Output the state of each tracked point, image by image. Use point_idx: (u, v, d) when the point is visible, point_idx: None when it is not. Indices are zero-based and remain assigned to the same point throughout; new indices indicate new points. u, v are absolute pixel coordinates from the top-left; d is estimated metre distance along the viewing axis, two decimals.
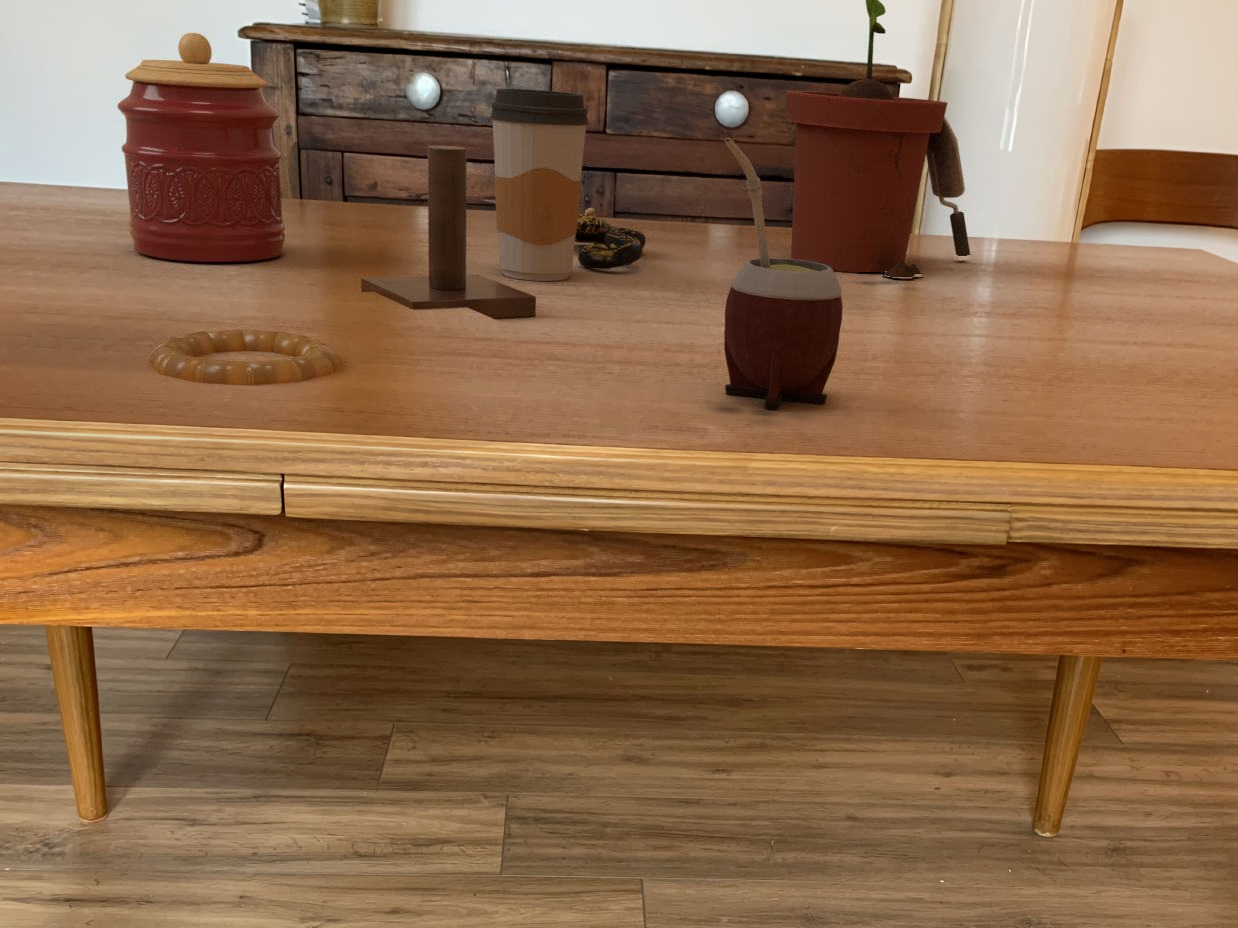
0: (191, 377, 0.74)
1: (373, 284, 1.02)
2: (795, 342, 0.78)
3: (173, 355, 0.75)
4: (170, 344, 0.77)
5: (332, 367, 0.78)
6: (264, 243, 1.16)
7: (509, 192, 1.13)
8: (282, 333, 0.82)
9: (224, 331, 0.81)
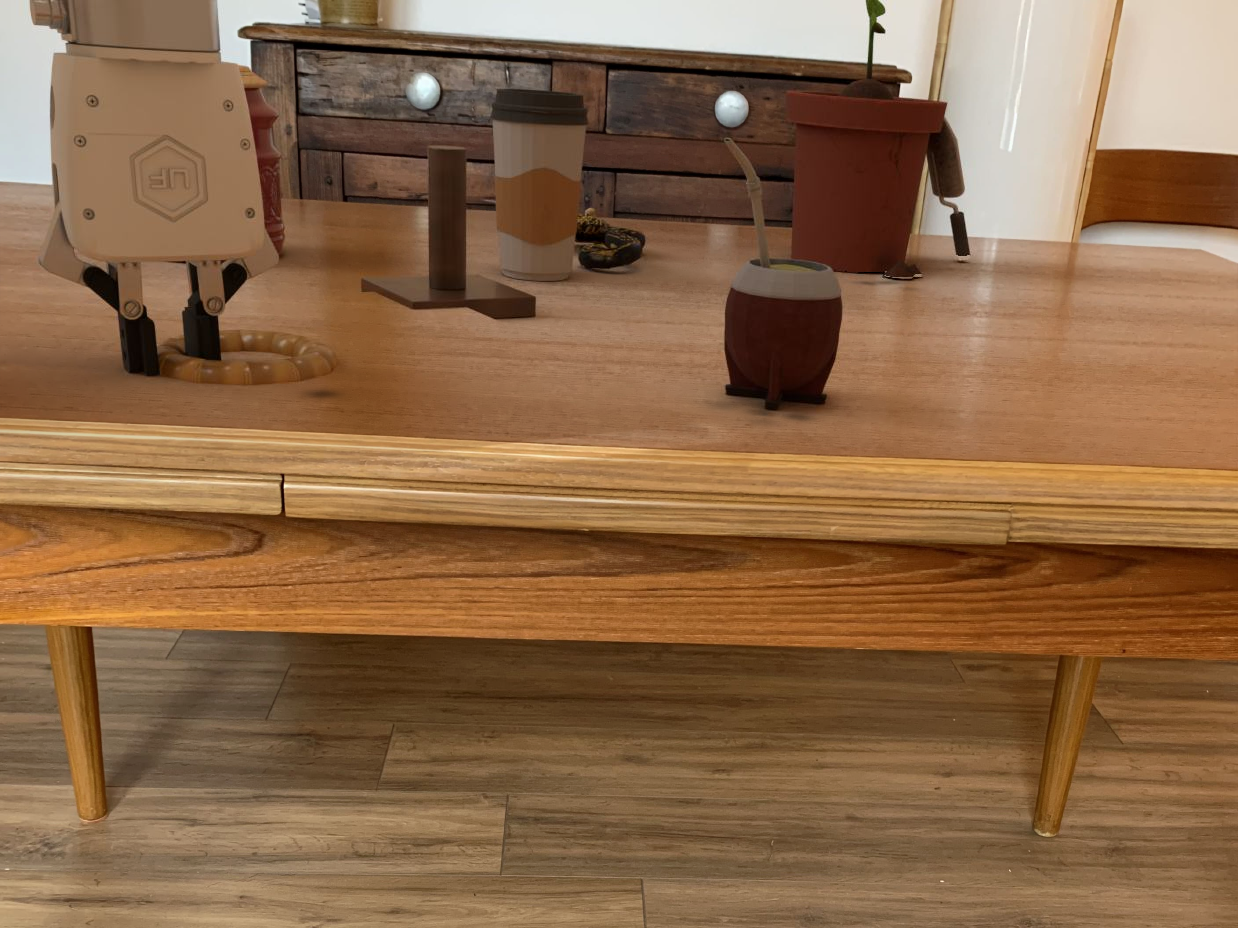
0: (188, 377, 0.74)
1: (373, 284, 1.02)
2: (795, 342, 0.78)
3: (170, 355, 0.75)
4: (167, 344, 0.77)
5: (330, 367, 0.78)
6: None
7: (509, 192, 1.13)
8: (280, 333, 0.82)
9: (222, 331, 0.81)
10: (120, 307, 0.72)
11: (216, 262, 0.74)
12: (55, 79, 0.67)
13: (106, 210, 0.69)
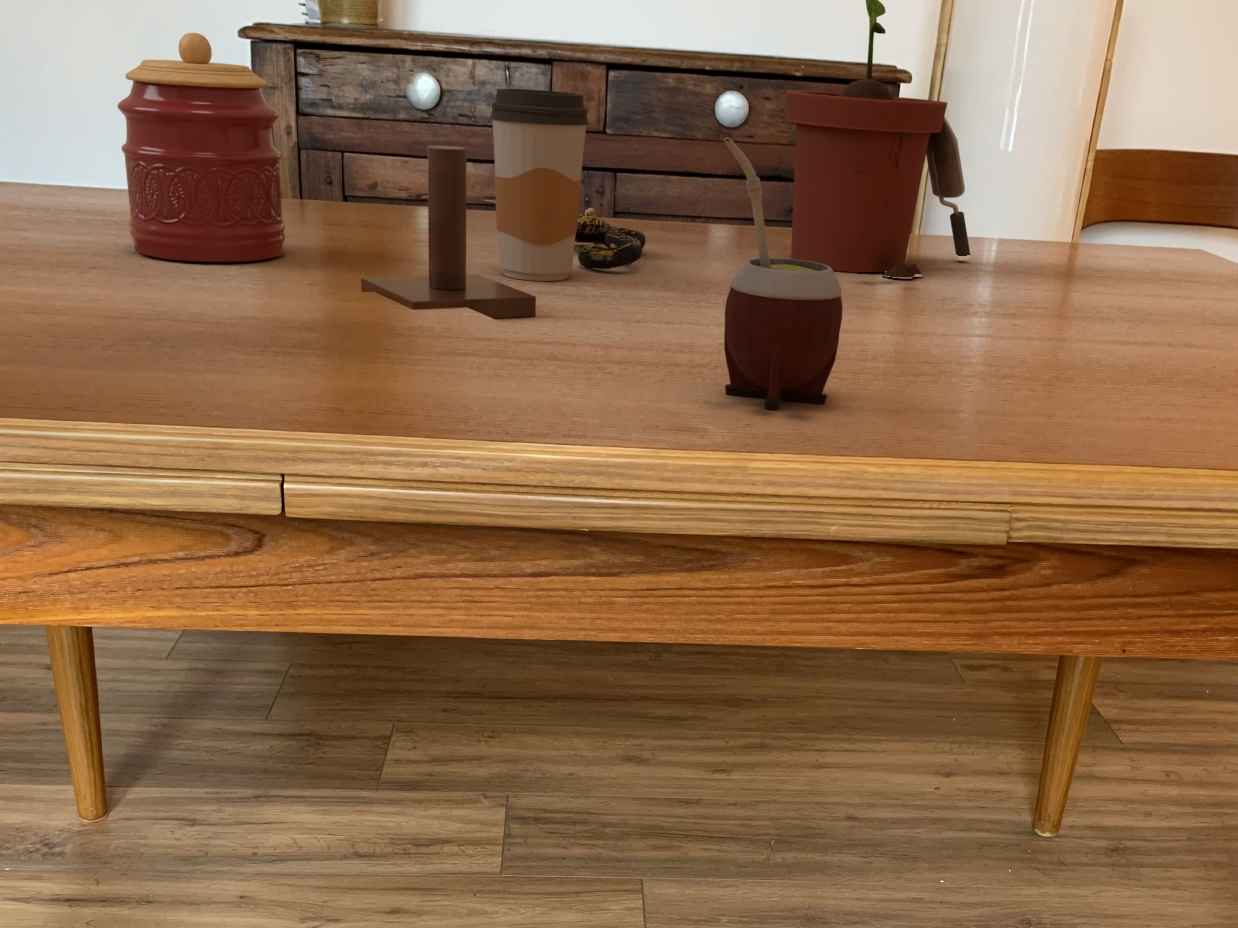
0: None
1: (373, 284, 1.02)
2: (795, 342, 0.78)
3: None
4: None
5: None
6: (264, 243, 1.16)
7: (509, 192, 1.13)
8: None
9: None
10: None
11: None
12: None
13: None
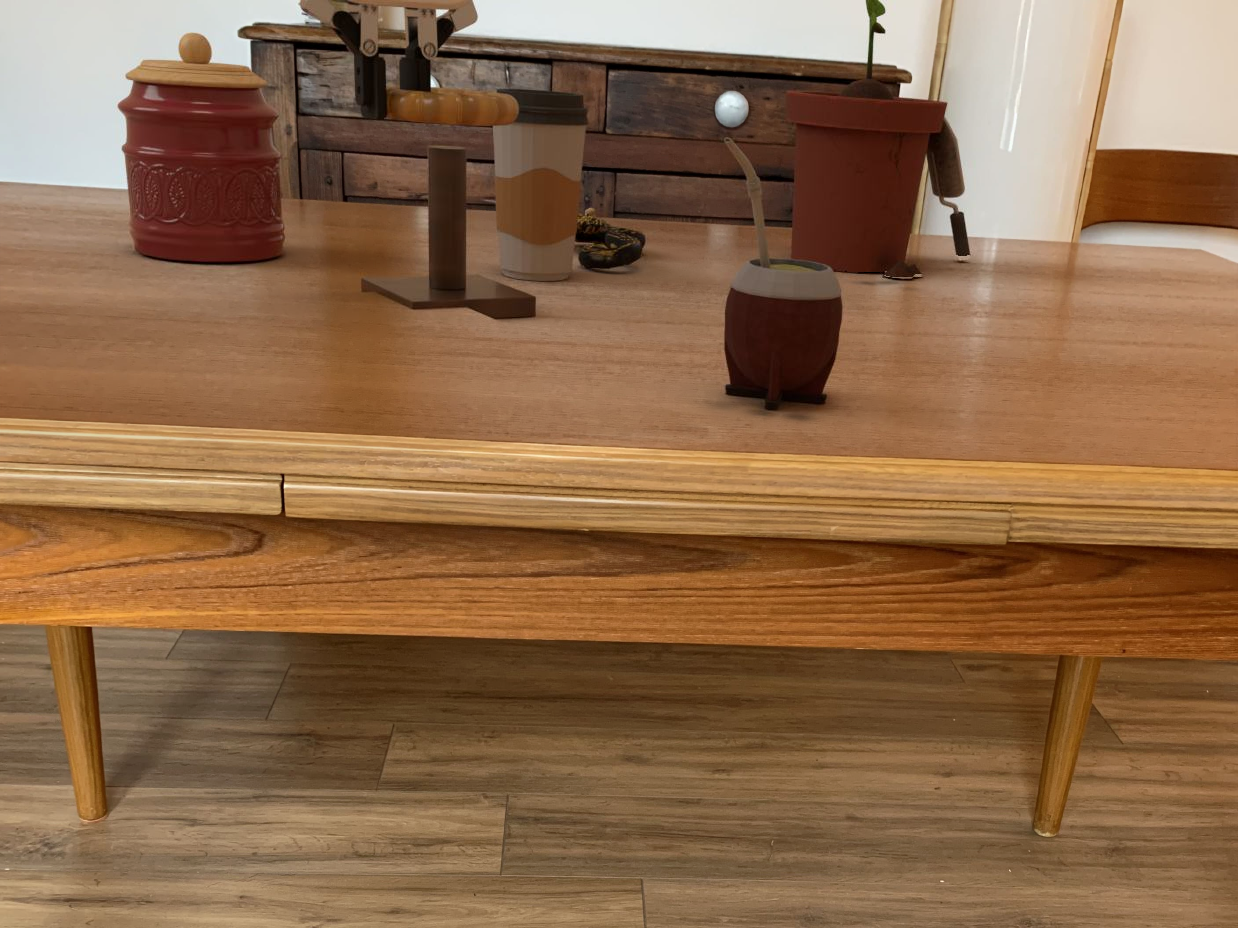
0: (412, 104, 0.92)
1: (373, 284, 1.02)
2: (795, 342, 0.78)
3: (395, 89, 0.93)
4: (388, 87, 0.96)
5: (517, 107, 0.96)
6: (264, 243, 1.16)
7: (509, 192, 1.13)
8: (468, 90, 1.00)
9: None
10: (361, 45, 0.91)
11: (432, 13, 0.93)
12: None
13: None
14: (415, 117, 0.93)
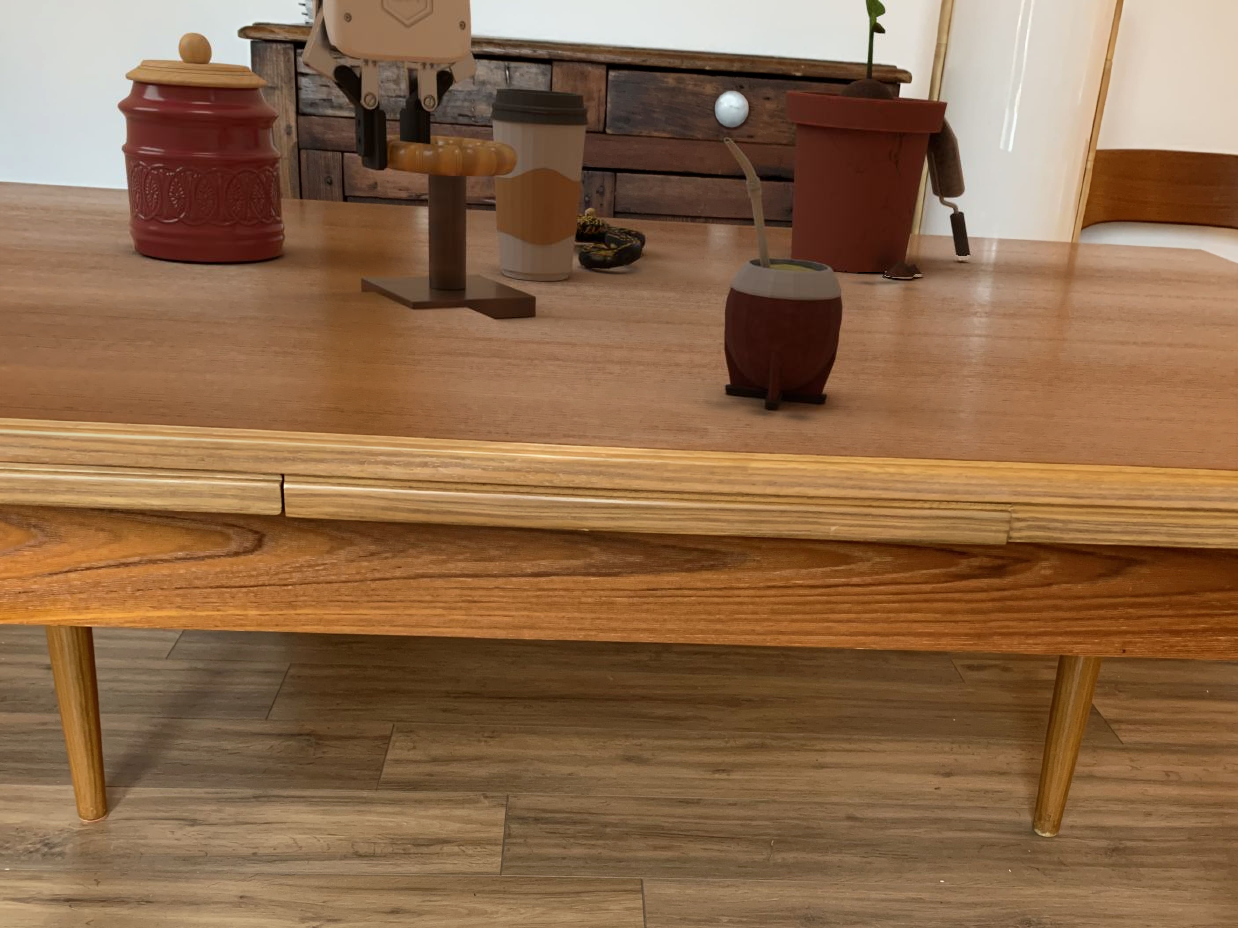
0: (412, 156, 0.94)
1: (373, 284, 1.02)
2: (795, 342, 0.78)
3: (396, 141, 0.95)
4: (388, 137, 0.97)
5: (515, 158, 0.98)
6: (264, 243, 1.16)
7: (509, 192, 1.13)
8: (468, 138, 1.02)
9: None
10: (362, 98, 0.92)
11: (432, 66, 0.94)
12: None
13: (360, 14, 0.89)
14: (415, 168, 0.94)
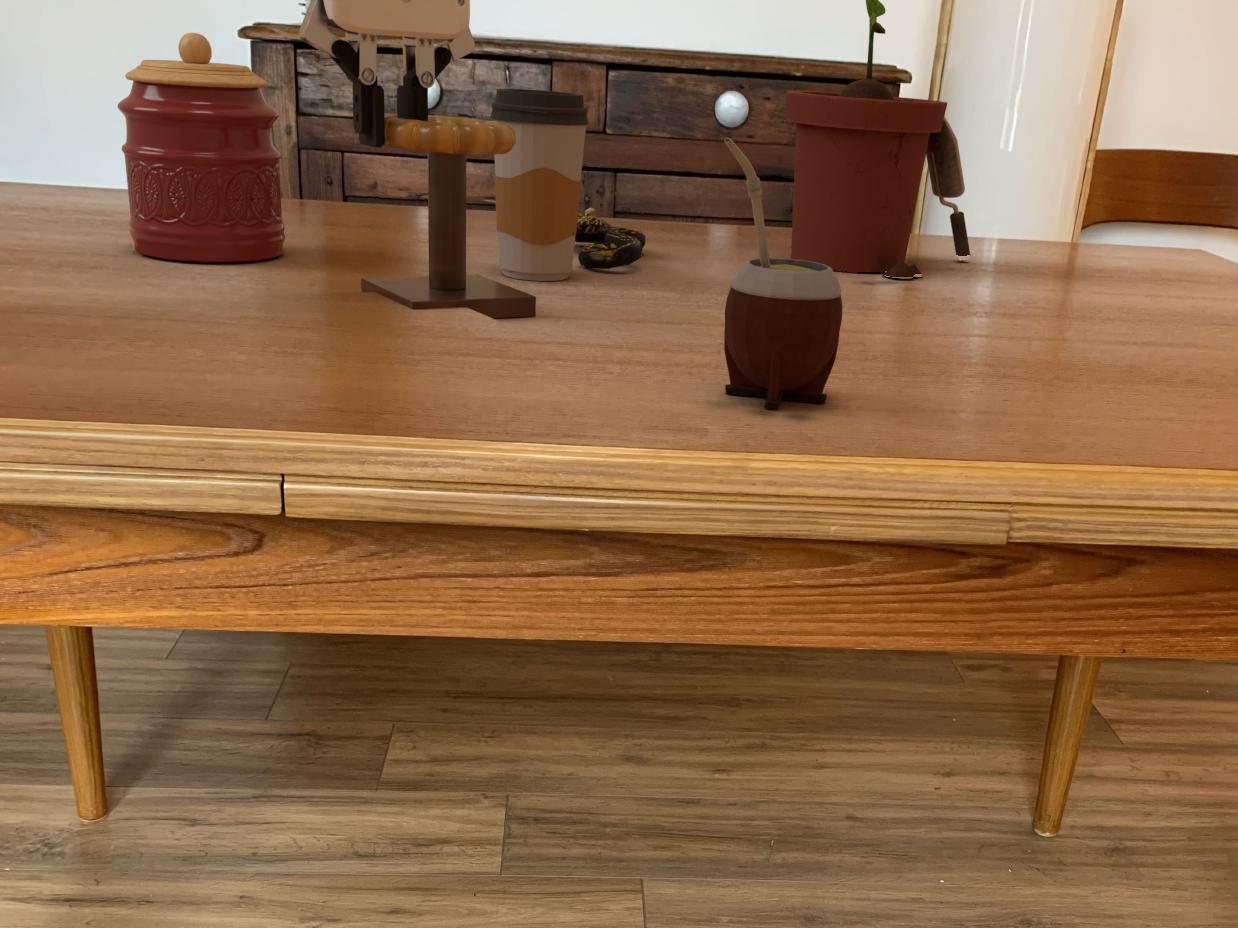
0: (410, 133, 0.93)
1: (373, 284, 1.02)
2: (795, 342, 0.78)
3: (393, 117, 0.94)
4: (385, 115, 0.96)
5: (514, 137, 0.97)
6: (264, 243, 1.16)
7: (509, 192, 1.13)
8: (466, 118, 1.01)
9: None
10: (359, 74, 0.92)
11: (430, 43, 0.93)
12: None
13: None
14: (412, 145, 0.94)
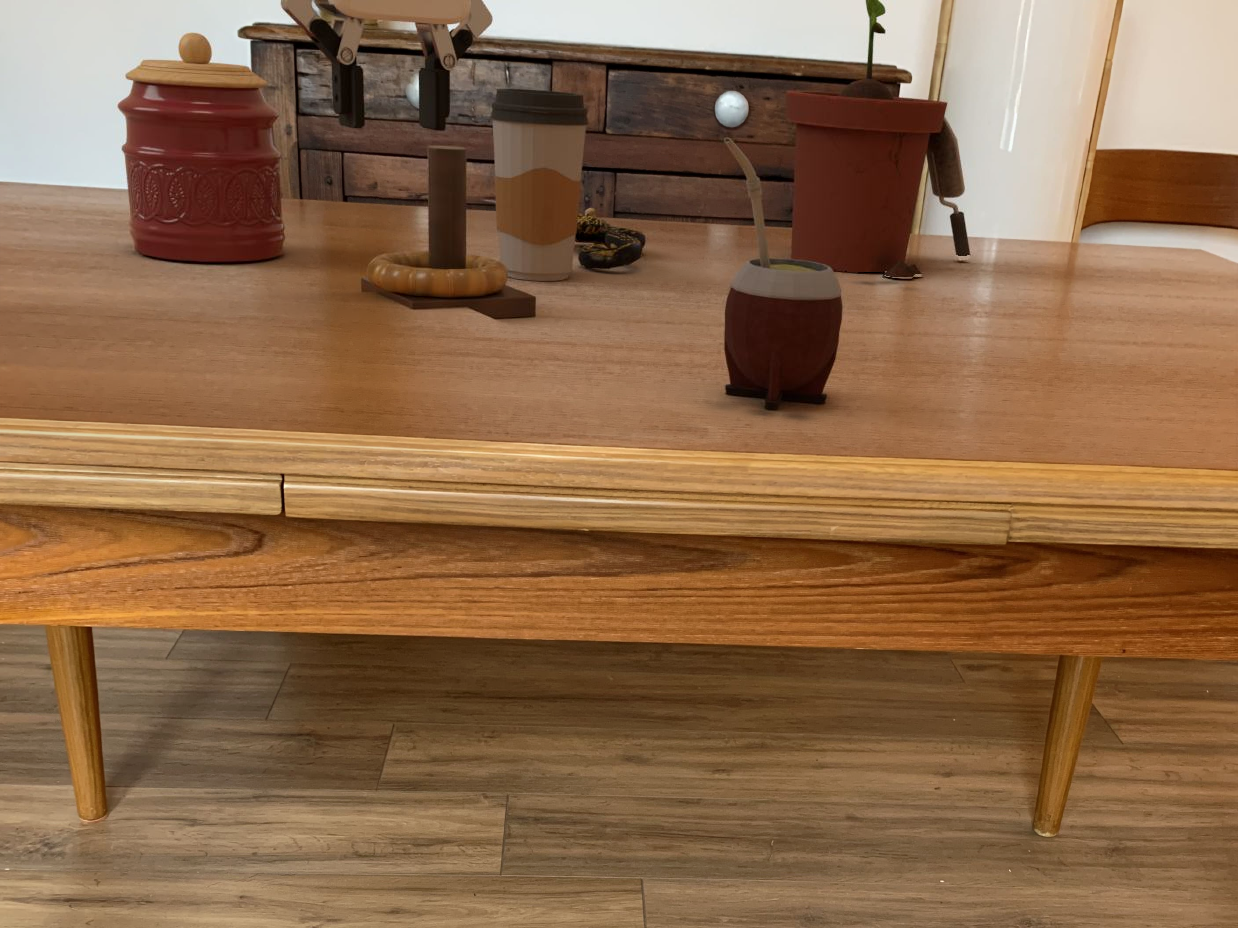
0: (405, 280, 0.97)
1: None
2: (795, 342, 0.78)
3: (389, 264, 0.98)
4: (382, 258, 1.00)
5: (505, 276, 1.01)
6: (264, 243, 1.16)
7: (509, 192, 1.13)
8: None
9: (416, 251, 1.04)
10: (338, 51, 0.90)
11: (443, 24, 0.93)
12: None
13: None
14: (408, 292, 0.98)
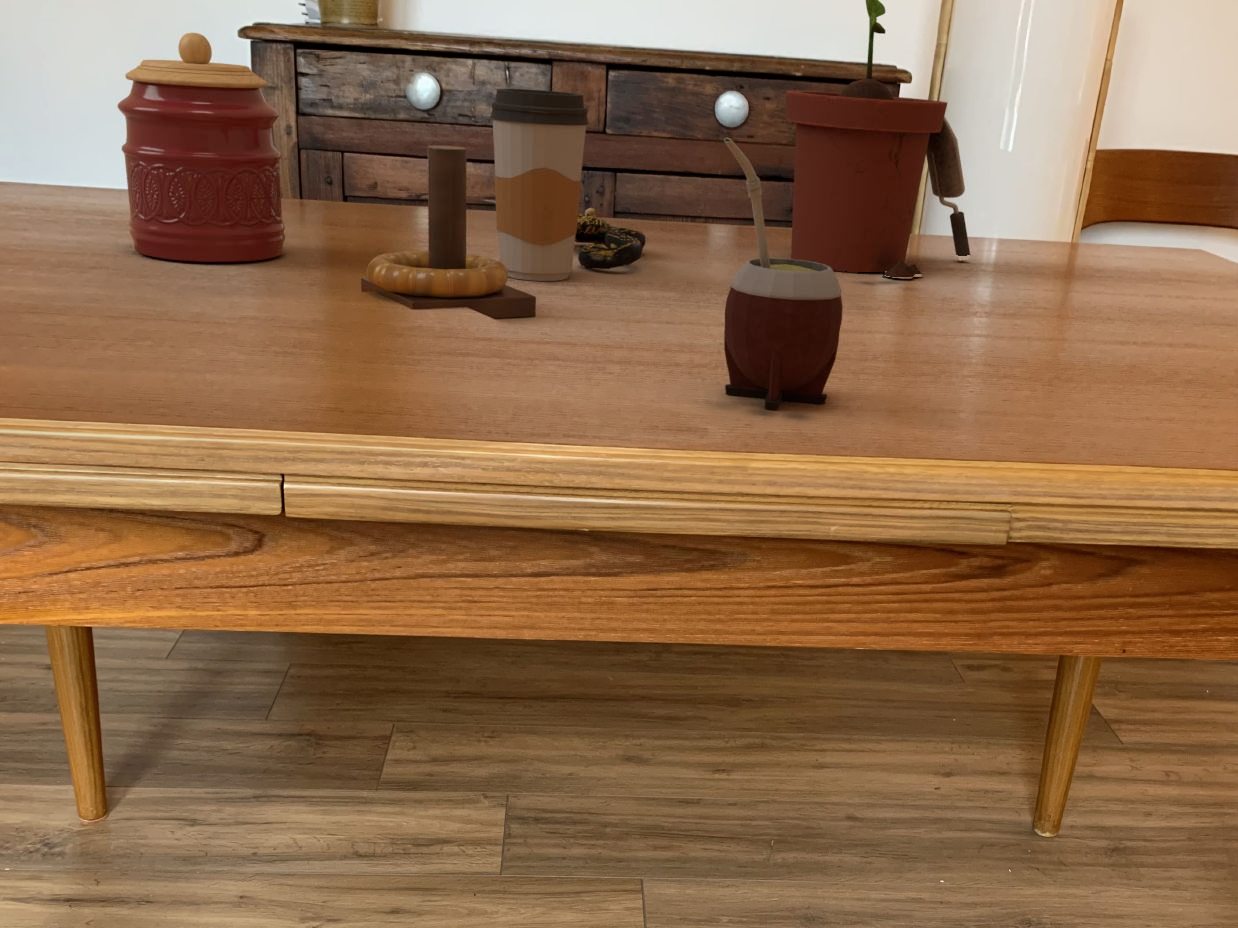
0: (405, 280, 0.97)
1: None
2: (795, 342, 0.78)
3: (389, 264, 0.98)
4: (382, 258, 1.00)
5: (505, 276, 1.01)
6: (264, 243, 1.16)
7: (509, 192, 1.13)
8: None
9: (416, 251, 1.04)
10: None
11: None
12: None
13: None
14: (408, 292, 0.98)
